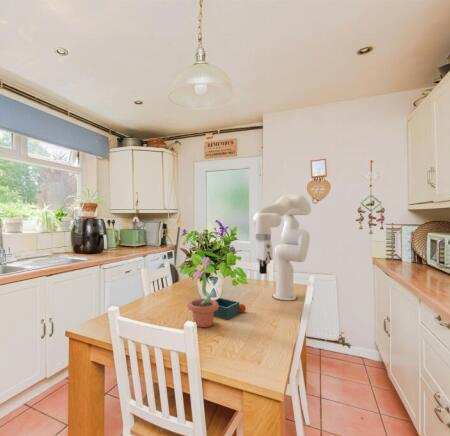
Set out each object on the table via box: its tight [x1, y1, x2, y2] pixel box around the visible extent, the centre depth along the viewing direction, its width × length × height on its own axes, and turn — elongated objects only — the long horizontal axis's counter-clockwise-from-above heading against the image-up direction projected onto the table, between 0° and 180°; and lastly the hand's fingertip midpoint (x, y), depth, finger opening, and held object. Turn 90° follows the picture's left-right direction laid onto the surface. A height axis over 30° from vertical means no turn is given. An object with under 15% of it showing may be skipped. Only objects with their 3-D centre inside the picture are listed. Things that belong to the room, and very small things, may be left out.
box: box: [213, 297, 240, 321], centre depth 136 cm, size 12×12×6 cm
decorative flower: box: [187, 256, 219, 328], centre depth 123 cm, size 15×14×30 cm
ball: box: [239, 303, 247, 313], centre depth 138 cm, size 4×4×4 cm
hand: (263, 273), depth 140 cm, fingers closed
